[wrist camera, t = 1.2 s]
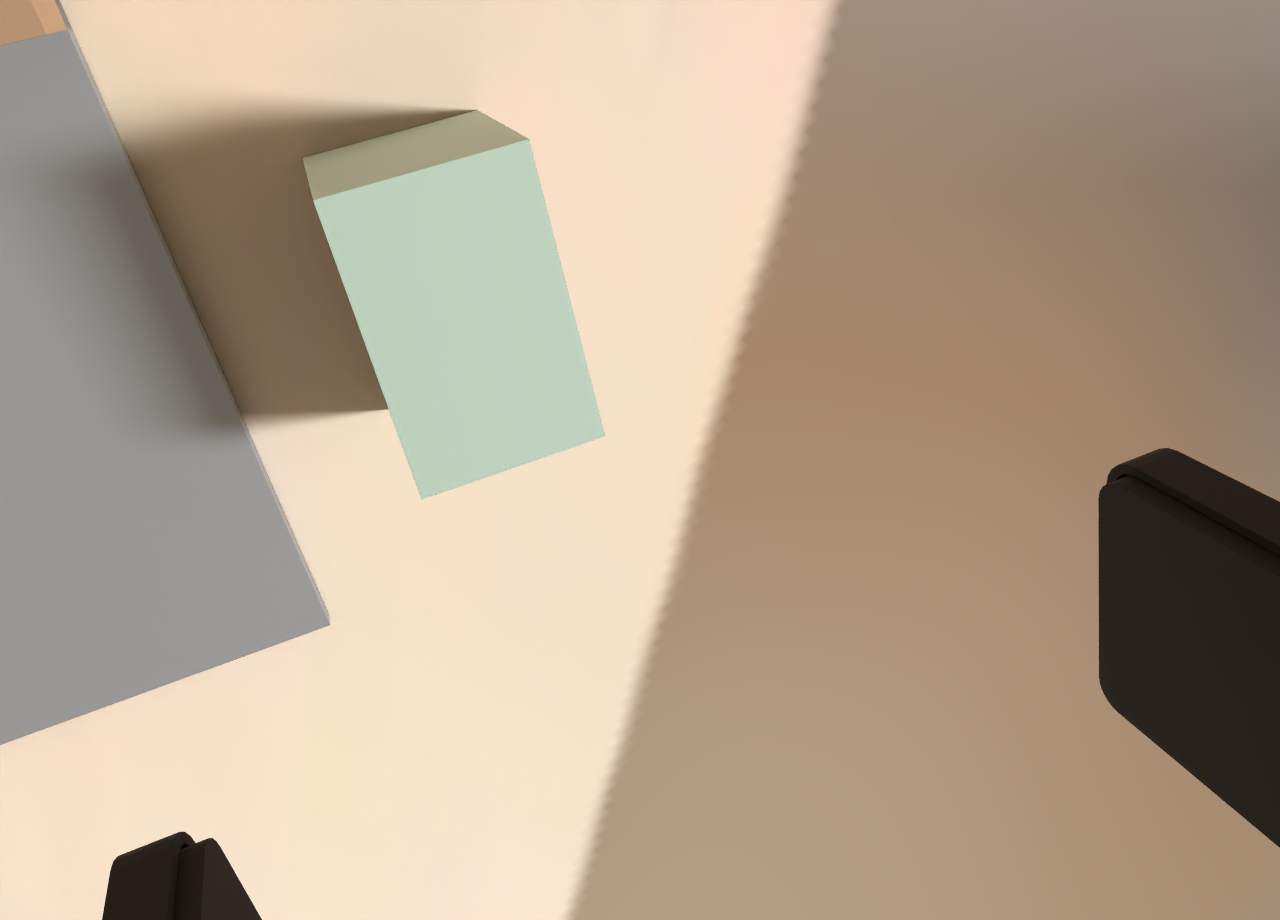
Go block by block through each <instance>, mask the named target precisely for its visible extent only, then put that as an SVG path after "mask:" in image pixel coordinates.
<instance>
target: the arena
mask: <svg viewBox="0 0 1280 920" xmlns="http://www.w3.org/2000/svg"><path fill="white" fill-rule="evenodd" d="M329 625H330V620H329V613H328V611H327V609H326V607H325V604H324V602H323V600H322V597H321V595H320V593H319V591H318V588H317V586H316V584H315V581H314V579H313V577H312V575H311V572H310V570H309V568H308V566H307V563H306V561H305V559H304V556H303V554H302V552H301V550H300V547H299V545H298V543H297V540H296V538H295V536H294V534H293V531H292V529H291V527H290V525H289V522H288V520H287V518H286V515H285V513H284V511H283V509H282V506H281V504H280V502H279V499H278V497H277V495H276V493H275V490H274V488H273V486H272V484H271V481H270V479H269V477H268V474H267V472H266V470H265V468H264V465H263V463H262V461H261V458H260V456H259V454H258V452H257V449H256V447H255V445H254V443H253V440H252V438H251V436H250V433H249V431H248V429H247V427H246V424H245V422H244V420H243V417H242V415H241V413H240V411H239V408H238V406H237V404H236V402H235V399H234V397H233V395H232V392H231V390H230V388H229V386H228V383H227V381H226V379H225V376H224V374H223V372H222V370H221V367H220V365H219V363H218V361H217V358H216V356H215V354H214V351H213V349H212V347H211V345H210V342H209V340H208V338H207V335H206V333H205V331H204V329H203V326H202V324H201V322H200V320H199V317H198V315H197V313H196V310H195V308H194V306H193V304H192V301H191V299H190V297H189V294H188V292H187V290H186V288H185V285H184V283H183V281H182V279H181V276H180V274H179V272H178V269H177V267H176V265H175V263H174V260H173V258H172V256H171V253H170V251H169V249H168V247H167V244H166V242H165V240H164V238H163V235H162V233H161V231H160V228H159V226H158V224H157V222H156V219H155V217H154V215H153V212H152V210H151V208H150V206H149V203H148V201H147V199H146V197H145V194H144V192H143V190H142V187H141V185H140V183H139V181H138V178H137V176H136V174H135V171H134V169H133V167H132V165H131V162H130V160H129V158H128V156H127V153H126V151H125V149H124V146H123V144H122V142H121V140H120V137H119V135H118V133H117V130H116V128H115V126H114V124H113V121H112V119H111V117H110V115H109V112H108V110H107V108H106V105H105V103H104V101H103V99H102V96H101V94H100V92H99V89H98V87H97V85H96V83H95V80H94V78H93V76H92V74H91V71H90V69H89V67H88V64H87V62H86V60H85V58H84V55H83V53H82V51H81V48H80V46H79V44H78V42H77V39H76V37H75V35H74V33H73V30H72V28H71V26H70V23H69V21H68V19H67V17H66V14H65V12H64V10H63V7H62V5H61V3H60V1H59V0H0V745H1V744H4V743H7V742H10V741H12V740H15V739H18V738H21V737H23V736H26V735H29V734H32V733H34V732H37V731H40V730H43V729H45V728H48V727H51V726H54V725H56V724H59V723H62V722H65V721H67V720H70V719H73V718H76V717H78V716H81V715H84V714H87V713H89V712H92V711H95V710H98V709H101V708H103V707H106V706H109V705H112V704H114V703H117V702H120V701H123V700H125V699H128V698H131V697H134V696H136V695H139V694H142V693H145V692H147V691H150V690H153V689H156V688H158V687H161V686H164V685H167V684H169V683H172V682H175V681H178V680H180V679H183V678H186V677H189V676H191V675H194V674H197V673H200V672H202V671H205V670H208V669H211V668H213V667H216V666H219V665H222V664H224V663H227V662H230V661H233V660H235V659H238V658H241V657H244V656H246V655H249V654H252V653H255V652H257V651H260V650H263V649H266V648H268V647H271V646H274V645H277V644H279V643H282V642H285V641H288V640H290V639H293V638H296V637H299V636H301V635H304V634H307V633H310V632H312V631H315V630H318V629H321V628H323V627H326V626H329Z"/></svg>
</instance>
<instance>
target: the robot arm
mask: <svg viewBox="0 0 1280 920" xmlns="http://www.w3.org/2000/svg"><path fill="white" fill-rule="evenodd" d="M1099 679H1100V684H1101V688H1102V690H1103V693H1104V695H1105V696H1106V698H1107V700H1108V701H1109V703H1110V704H1111V705H1112V706H1113V707H1114V709H1115V710H1116V711H1117V712H1118V713H1120V714H1121V715H1122V716H1123V717H1124V718H1126V719H1127V720H1128V721H1129V722H1130V723H1131V724H1133V725H1134V726H1135V727H1136V728H1137V729H1139V730H1140V731H1141V732H1142V733H1143V734H1145V735H1146V736H1147V737H1148V738H1149V739H1151V740H1152V741H1153V742H1154V743H1156V744H1157V745H1158V746H1159V747H1160V748H1161V749H1163V750H1164V751H1165V752H1166V753H1167V754H1169V755H1170V756H1171V757H1172V758H1173V759H1175V760H1176V761H1177V762H1178V763H1179V764H1181V765H1182V766H1183V767H1184V768H1185V769H1186V770H1188V771H1189V772H1190V773H1191V774H1192V775H1194V776H1195V777H1196V778H1197V779H1199V780H1200V781H1201V782H1202V783H1203V784H1204V785H1206V786H1207V787H1208V788H1209V789H1210V790H1212V791H1213V792H1214V793H1215V794H1217V795H1218V796H1219V797H1220V798H1221V799H1222V800H1223V801H1225V802H1226V803H1227V804H1228V805H1229V806H1231V807H1232V808H1233V809H1234V810H1236V811H1237V812H1238V813H1239V814H1240V815H1241V816H1243V817H1244V818H1245V819H1246V820H1247V821H1249V822H1250V823H1251V824H1252V825H1253V826H1255V827H1256V828H1257V829H1258V830H1259V831H1261V832H1262V833H1263V834H1264V835H1265V836H1267V837H1268V838H1269V839H1270V840H1271V841H1272V842H1274V843H1275V844H1276V845H1277V846H1278V847H1280V502H1279V501H1277V500H1275V499H1273V498H1271V497H1269V496H1266V495H1265V494H1263V493H1261V492H1259V491H1256V490H1255V489H1253V488H1250V487H1249V486H1247V485H1244V484H1243V483H1240V482H1238V481H1237V480H1234V479H1232V478H1230V477H1228V476H1226V475H1224V474H1222V473H1220V472H1218V471H1216V470H1214V469H1212V468H1210V467H1208V466H1206V465H1204V464H1202V463H1200V462H1198V461H1196V460H1194V459H1192V458H1190V457H1188V456H1186V455H1184V454H1182V453H1180V452H1178V451H1175V450H1172V449H1169V448H1163V449H1158V450H1155V451H1153V452H1150V453H1147V454H1145V455H1142V456H1140V457H1137V458H1135V459H1132V460H1129V461H1127V462H1125V463H1122V464H1119V465H1118V466H1116V467H1114V468H1113V469H1112V470H1111V471H1110V473H1109V475H1108V479H1107V484H1106V485H1105V486H1103V487H1102V489H1101V491H1100V494H1099ZM102 920H262V919H261V917H260V916H259V914H258V912H257V910H256V909H255V907H254V905H253V903H252V902H251V900H250V898H249V896H248V895H247V893H246V891H245V889H244V888H243V886H242V884H241V882H240V881H239V879H238V877H237V875H236V874H235V872H234V870H233V868H232V867H231V865H230V863H229V861H228V860H227V858H226V856H225V854H224V853H223V851H222V849H221V847H220V846H219V845H218V843H217V842H216V841H215V840H214V839H213V838H208V839H206V840H203V841H201V842H198V843H195V842H194V840H193V839H192V838H191V836H190V835H188V834H187V833H186V832H178V833H176V834H173V835H171V836H168V837H166V838H163V839H160V840H158V841H155V842H153V843H150V844H148V845H145V846H143V847H140V848H137V849H135V850H132V851H130V852H127V853H125V854H122V855H120V856H118V857H117V858H116V859H115V860H114V861H113V864H112V867H111V871H110V877H109V882H108V888H107V894H106V900H105V906H104V912H103V918H102Z"/></svg>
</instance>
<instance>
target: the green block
mask: <svg viewBox="0 0 1280 920" xmlns="http://www.w3.org/2000/svg"><path fill="white" fill-rule="evenodd" d="M302 159H303V163H304V167H305V171H306V175H307V179H308V183H309V187H310V191H311V195H312V198H313V202H314V205H315V207H316V210H317V213H318V216H319V218H320V221H321V224H322V227H323V229H324V232H325V235H326V238H327V240H328V243H329V246H330V249H331V251H332V254H333V257H334V260H335V262H336V265H337V268H338V271H339V273H340V276H341V279H342V282H343V284H344V287H345V290H346V293H347V296H348V298H349V301H350V304H351V307H352V309H353V312H354V315H355V318H356V320H357V323H358V326H359V329H360V331H361V334H362V337H363V340H364V342H365V345H366V348H367V351H368V353H369V356H370V359H371V362H372V364H373V367H374V370H375V373H376V375H377V378H378V381H379V384H380V386H381V389H382V392H383V395H384V397H385V400H386V403H387V406H388V408H389V411H390V414H391V417H392V420H393V422H394V425H395V428H396V431H397V433H398V436H399V439H400V442H401V444H402V447H403V450H404V453H405V455H406V458H407V461H408V464H409V466H410V469H411V472H412V475H413V477H414V480H415V483H416V486H417V488H418V491H419V494H420V497H421V499H425V498H427V497H430V496H433V495H436V494H439V493H442V492H445V491H448V490H451V489H453V488H456V487H459V486H462V485H465V484H468V483H471V482H474V481H477V480H480V479H482V478H485V477H488V476H491V475H494V474H497V473H500V472H503V471H506V470H508V469H511V468H514V467H517V466H520V465H523V464H526V463H529V462H532V461H534V460H537V459H540V458H543V457H546V456H549V455H552V454H555V453H558V452H560V451H563V450H566V449H569V448H572V447H575V446H578V445H581V444H584V443H586V442H589V441H592V440H595V439H598V438H601V437H604V436H605V433H604V430H603V426H602V422H601V418H600V414H599V410H598V406H597V402H596V398H595V395H594V391H593V387H592V383H591V379H590V375H589V371H588V367H587V363H586V359H585V356H584V352H583V348H582V344H581V340H580V336H579V332H578V328H577V324H576V320H575V317H574V313H573V309H572V305H571V301H570V297H569V293H568V289H567V285H566V281H565V278H564V274H563V270H562V266H561V262H560V258H559V254H558V250H557V246H556V242H555V238H554V235H553V231H552V227H551V223H550V219H549V215H548V211H547V207H546V203H545V199H544V196H543V192H542V188H541V184H540V180H539V176H538V172H537V168H536V164H535V160H534V157H533V153H532V149H531V145H530V141H529V139H528V138H526V137H524V136H522V135H521V134H519V133H517V132H515V131H514V130H512V129H510V128H508V127H506V126H505V125H503V124H501V123H499V122H498V121H496V120H494V119H492V118H490V117H489V116H487V115H485V114H483V113H481V112H480V111H478V110H475V111H471V112H467V113H464V114H460V115H457V116H453V117H449V118H446V119H442V120H438V121H435V122H431V123H427V124H424V125H420V126H417V127H413V128H409V129H406V130H402V131H398V132H395V133H391V134H387V135H384V136H380V137H377V138H373V139H369V140H366V141H362V142H358V143H355V144H351V145H347V146H344V147H340V148H337V149H333V150H329V151H326V152H322V153H318V154H315V155H311V156H307V157H304V158H302Z"/></svg>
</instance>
